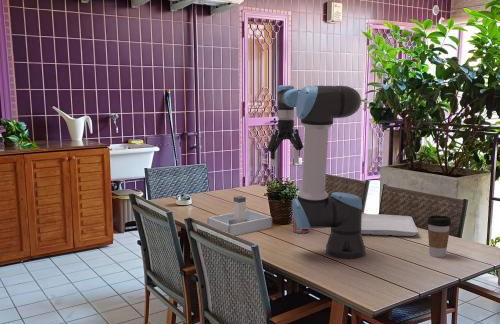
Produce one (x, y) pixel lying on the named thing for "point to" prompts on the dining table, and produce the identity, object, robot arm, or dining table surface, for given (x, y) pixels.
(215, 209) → the dining table surface
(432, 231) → the coffee cup
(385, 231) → the square plate
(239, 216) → the pepper shaker
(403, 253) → the dining table surface
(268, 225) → the box
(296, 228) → the soda can
